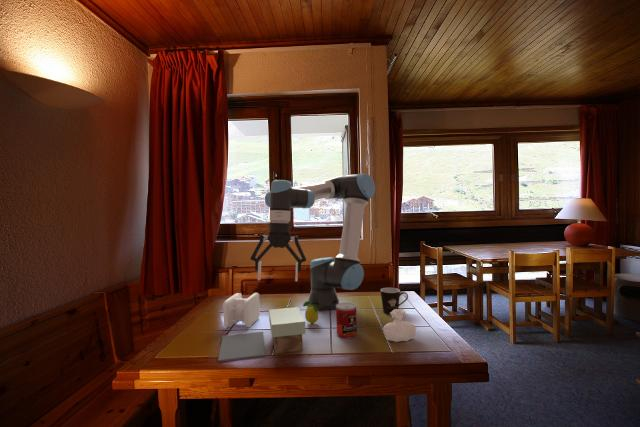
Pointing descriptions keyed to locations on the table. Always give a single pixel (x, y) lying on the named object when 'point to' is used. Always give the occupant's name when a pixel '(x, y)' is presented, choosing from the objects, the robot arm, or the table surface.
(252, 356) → the mat
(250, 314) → the cable organizer
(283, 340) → the box
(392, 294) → the coffee mug
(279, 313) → the lid
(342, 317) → the canned food
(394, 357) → the table surface
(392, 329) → the bust
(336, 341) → the table surface
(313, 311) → the lemon
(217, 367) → the table surface
